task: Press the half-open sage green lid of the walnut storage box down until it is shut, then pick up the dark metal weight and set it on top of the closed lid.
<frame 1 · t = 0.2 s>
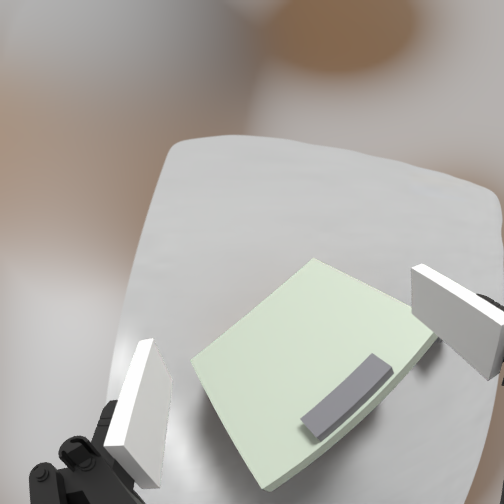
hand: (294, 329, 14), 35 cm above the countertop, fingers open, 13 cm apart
lid: (296, 351, 30), point 19 cm above the countertop, hinge at 50.0°
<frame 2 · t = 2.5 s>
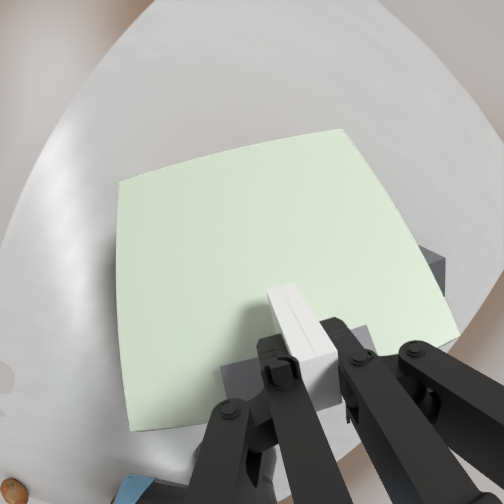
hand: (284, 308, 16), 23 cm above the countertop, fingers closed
lid: (261, 245, 20), point 19 cm above the countertop, hinge at 48.5°, touching gripper
metal weight: (403, 268, 43), on the countertop
onion: (18, 482, 52), on the countertop
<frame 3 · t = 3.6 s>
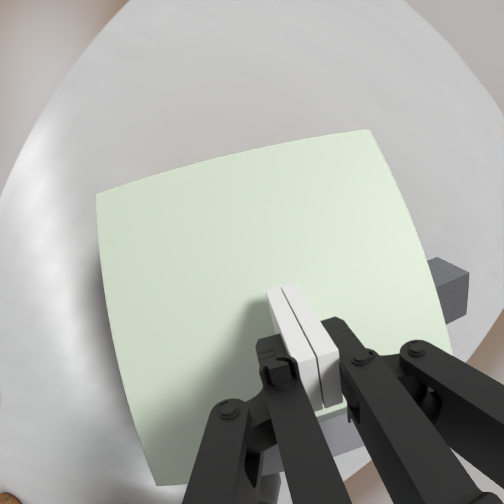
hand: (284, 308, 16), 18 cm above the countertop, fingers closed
lid: (276, 300, 18), point 17 cm above the countertop, hinge at 31.6°, touching gripper
metal weight: (421, 282, 38), on the countertop
onion: (13, 496, 46), on the countertop
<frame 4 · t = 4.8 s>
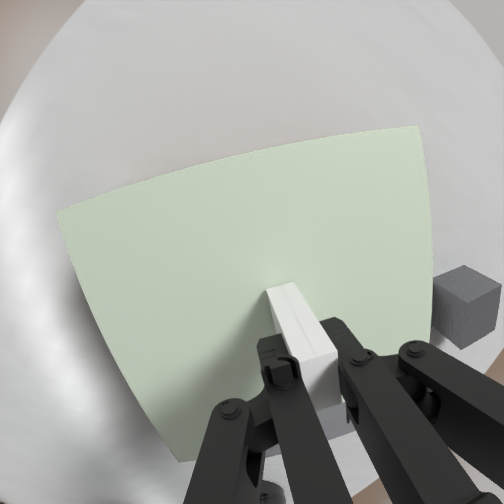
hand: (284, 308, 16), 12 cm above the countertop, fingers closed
lid: (284, 332, 17), point 12 cm above the countertop, hinge at -0.1°, touching gripper
metal weight: (446, 293, 33), on the countertop
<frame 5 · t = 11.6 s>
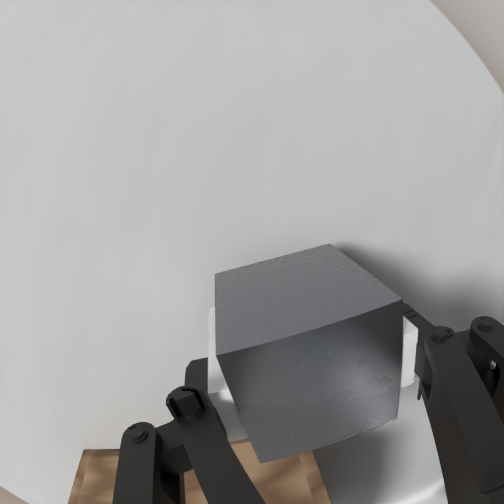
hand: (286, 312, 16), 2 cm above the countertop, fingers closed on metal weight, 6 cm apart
metal weight: (285, 310, 16), point 2 cm above the countertop, touching gripper
storage box: (217, 494, 24), on the countertop
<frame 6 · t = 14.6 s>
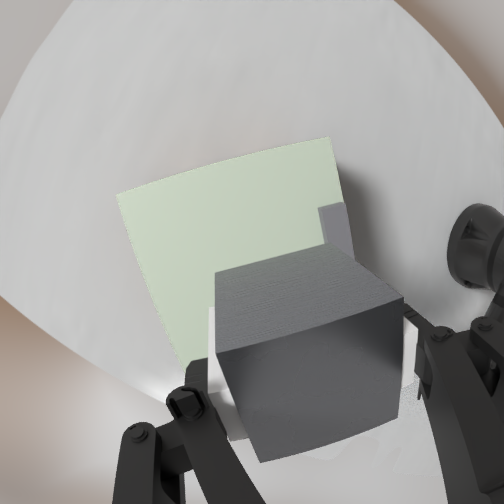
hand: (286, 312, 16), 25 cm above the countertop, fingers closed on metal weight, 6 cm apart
lid: (251, 268, 29), point 12 cm above the countertop, hinge at -0.1°
metal weight: (285, 309, 16), point 24 cm above the countertop, touching gripper
when the fingers open (12 cm above the countertop, at t = 17.5 s): metal weight stays where it is, resting on lid.
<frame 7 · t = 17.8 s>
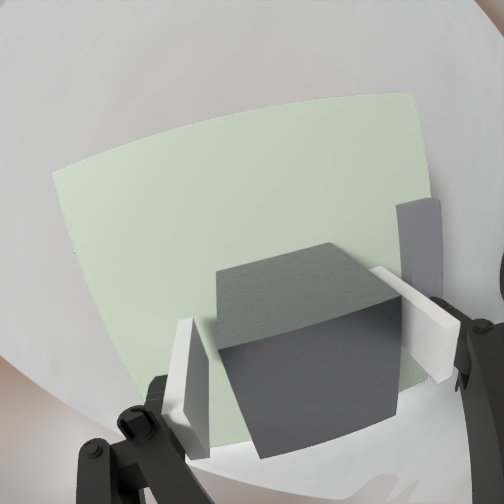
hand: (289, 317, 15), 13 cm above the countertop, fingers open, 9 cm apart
lid: (283, 305, 17), point 12 cm above the countertop, hinge at -0.1°, touching metal weight
metal weight: (285, 308, 17), point 12 cm above the countertop, touching lid
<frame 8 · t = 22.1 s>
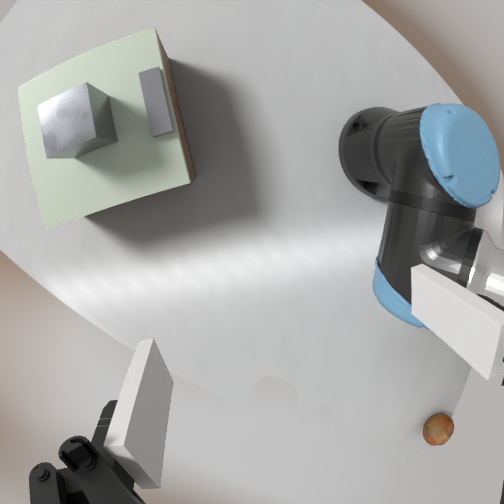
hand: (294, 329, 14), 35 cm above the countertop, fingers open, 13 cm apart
lid: (90, 126, 31), point 12 cm above the countertop, hinge at -0.1°, touching metal weight
metal weight: (90, 126, 31), point 12 cm above the countertop, touching lid
storage box: (119, 134, 42), on the countertop
onion: (430, 419, 70), on the countertop
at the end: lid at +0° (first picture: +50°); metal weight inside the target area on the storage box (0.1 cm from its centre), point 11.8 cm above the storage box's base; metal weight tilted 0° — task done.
